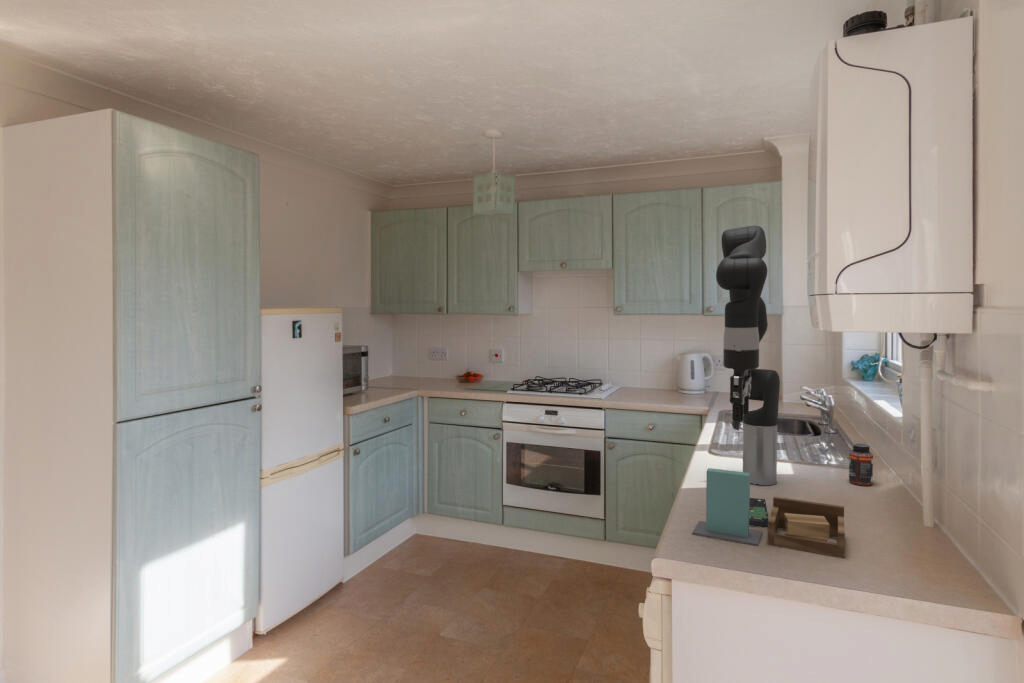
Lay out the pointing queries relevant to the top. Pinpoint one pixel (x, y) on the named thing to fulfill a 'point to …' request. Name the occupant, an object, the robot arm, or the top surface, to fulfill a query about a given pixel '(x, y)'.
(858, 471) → the supplement bottle
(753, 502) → the disk drive
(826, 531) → the oak block upper
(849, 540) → the top surface
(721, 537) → the grey mat
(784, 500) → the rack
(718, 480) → the teal board
